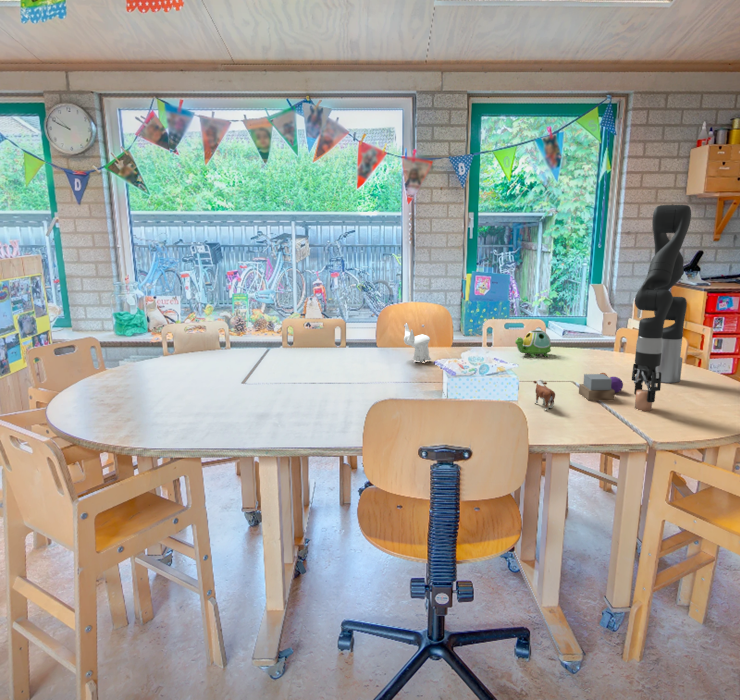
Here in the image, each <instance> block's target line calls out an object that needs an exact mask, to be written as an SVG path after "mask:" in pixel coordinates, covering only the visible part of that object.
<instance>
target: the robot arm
mask: <svg viewBox="0 0 740 700" xmlns="http://www.w3.org/2000/svg"><path fill="white" fill-rule="evenodd" d="M691 219H692V209H691V207H690V206H689V205H688V204H660V205H657V206H656V207H655V208H654V210H653V213H652V231H653V232H652V234H653V244H654V256H653V257H652V259H651V261H650V264H649V268H648V271H647V275H646V278H645V280H644V282H643V283H642V284H641V286H640V288H639V289H638V290H637V292H636V295H635V297H634V305H635V307H636V308H637V310H640V311H645V312H646V311H649V312H654V316H652V317H651V316H650V317H645V318H641V319H640V320H639V323H638V332H637V333H638V334H637V339H636V343H635V345H636V346H635V356H634V357H635V358H634V363H633V365H632V372H631V373H632V374H631V381H633V383H634V395H635V396H636V390H643V386H644V385H646V389H647V390H648V393H647V402H652V403H655V401H656V400H655V399H656V392H660V391H661V388H662V387H661V386H662V385H661V384H662V383H666V384H674V383H675V384H676V383H679V382H681V379H682V378H681V377H682V376H681V374H682V367H683V360H684V359H683V357H681V353H682V345H683V338H684V337H683V336H684V335H683V333H684V323H685V319H686V313H687V306H688V303H687V302H688V301H687V299H686V297H684V296H673V293H672V292H671V291H670V290H671V288H672V287H674V286H675V285H676V284H677V283H678V282H679V280H680V279H681V278H682V276H683V274H684V263H685V262H684V257H683V254H682V252H681V251H680V250H681V248H682V247H683V246H682V245H683V244H684V242H685V238H686V236H687V233H688V231H689V229H690V228H689V227H690V224H691ZM668 234H673V236H672V237H671V239H669V237H668ZM665 321H674V323H673V324H671V325H669V326H666V327H664V326H665ZM643 383H644V385H643Z"/></svg>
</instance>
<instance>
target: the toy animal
mask: <svg viewBox="0 0 740 700" xmlns="http://www.w3.org/2000/svg"><path fill="white" fill-rule="evenodd" d="M430 341H431V338H430V336H428V335H426V334H423V333H422V334H418V335H416V336H415V334H414V330H413V329H410V328H409V324H408V323H407V322H405V327H404V337H403V342H404V344H405V345H407V346H410V347H412V348H413V349H414V353H413V357H412V359H413V358H414V360H416V361H420V363H421V362H423V361H425V360H432V358H431V357H430V352H429V343H430Z"/></svg>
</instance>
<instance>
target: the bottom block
mask: <svg viewBox="0 0 740 700" xmlns="http://www.w3.org/2000/svg"><path fill="white" fill-rule="evenodd" d="M615 394H616V393H615V390H613V389H611V390H590V389H588V388H587V387H586V386H584V385H583V383H579V385H578V395H580V396H581V395H582V396H581V397H582V398H584V399H585V398H586V399H585V400H587V401H588V402H596V401H598V402H599V400H614V401H615Z"/></svg>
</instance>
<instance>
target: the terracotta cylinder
mask: <svg viewBox="0 0 740 700" xmlns="http://www.w3.org/2000/svg"><path fill="white" fill-rule="evenodd" d="M647 393H648V389H642V390H636V395H635V402H634V409H635V408H636V409H638V410H637V411H639V410H642V411H641V412H651V411H652V409H653V407H652V406H653V402H647ZM636 409H635V410H636Z"/></svg>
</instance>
